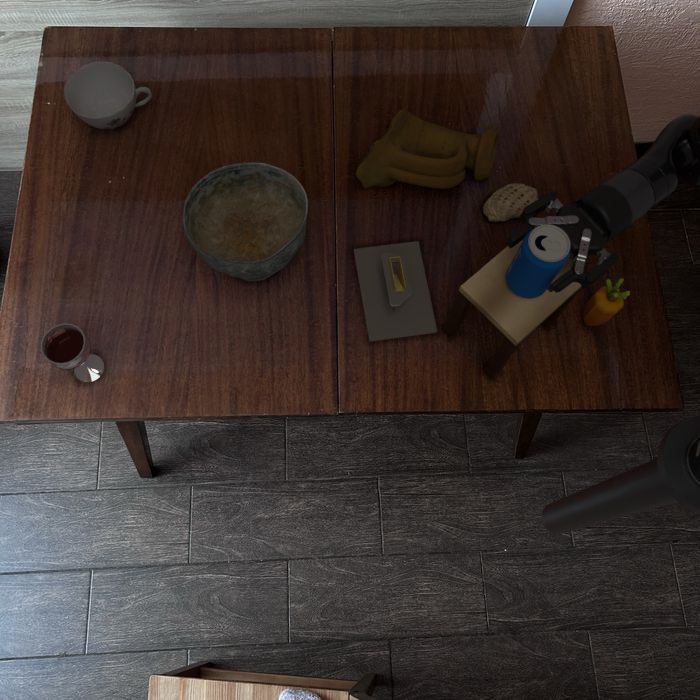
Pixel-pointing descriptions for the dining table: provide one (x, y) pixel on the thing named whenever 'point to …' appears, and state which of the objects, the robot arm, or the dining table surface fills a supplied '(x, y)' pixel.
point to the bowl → (246, 219)
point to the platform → (394, 291)
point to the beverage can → (538, 261)
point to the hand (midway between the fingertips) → (529, 266)
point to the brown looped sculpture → (426, 154)
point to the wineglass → (71, 352)
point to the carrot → (604, 304)
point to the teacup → (103, 94)
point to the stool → (507, 306)
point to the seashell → (509, 202)
